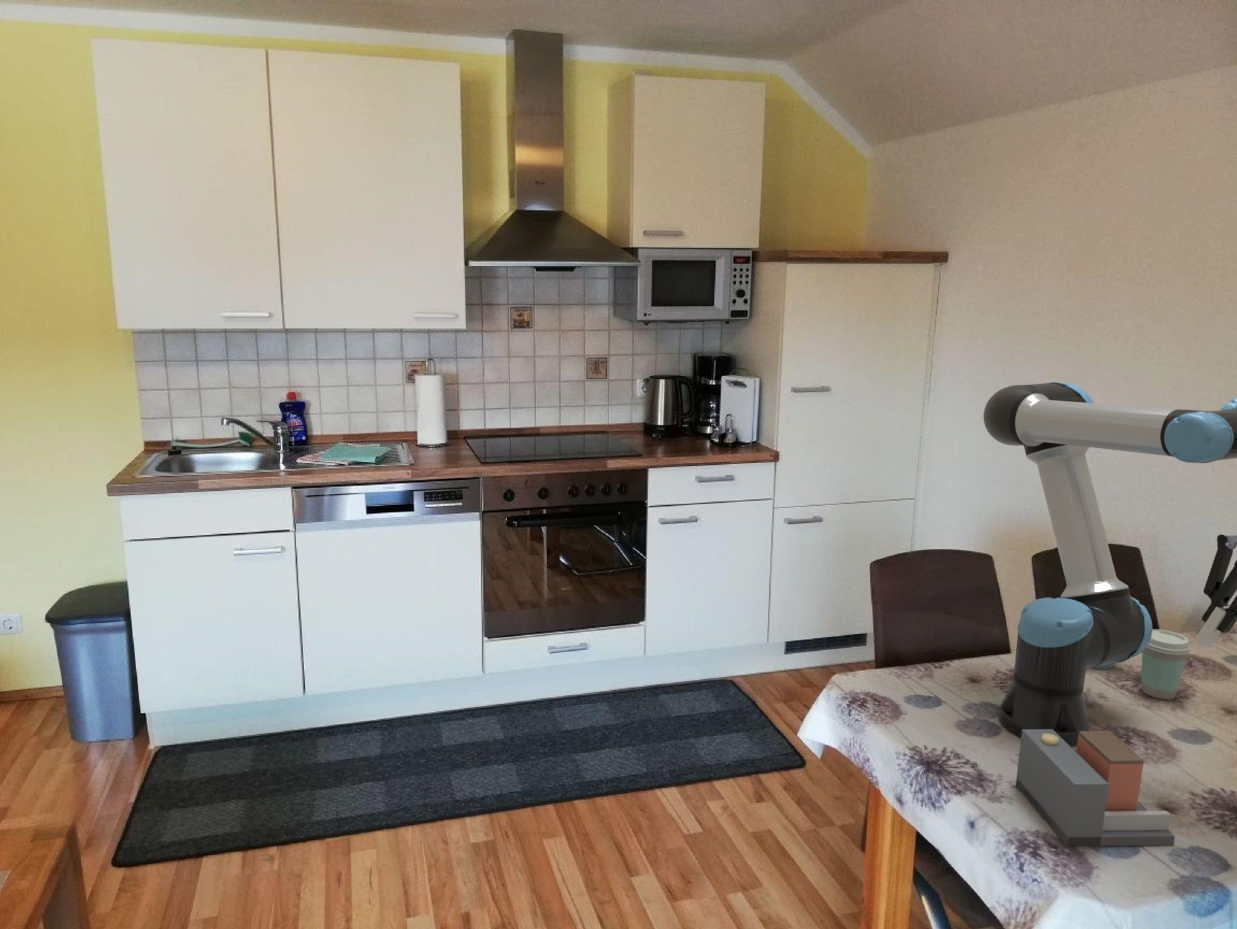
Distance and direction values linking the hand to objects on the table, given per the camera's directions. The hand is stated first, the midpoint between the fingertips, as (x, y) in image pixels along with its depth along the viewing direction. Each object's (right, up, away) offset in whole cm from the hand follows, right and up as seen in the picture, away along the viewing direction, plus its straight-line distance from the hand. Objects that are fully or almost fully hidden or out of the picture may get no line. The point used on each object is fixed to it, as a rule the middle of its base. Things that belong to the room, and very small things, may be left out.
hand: (1202, 643), depth 144 cm
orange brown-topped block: (-18, -24, -4) cm, 30 cm away
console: (-20, -26, -4) cm, 32 cm away
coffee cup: (+16, -17, +38) cm, 45 cm away
